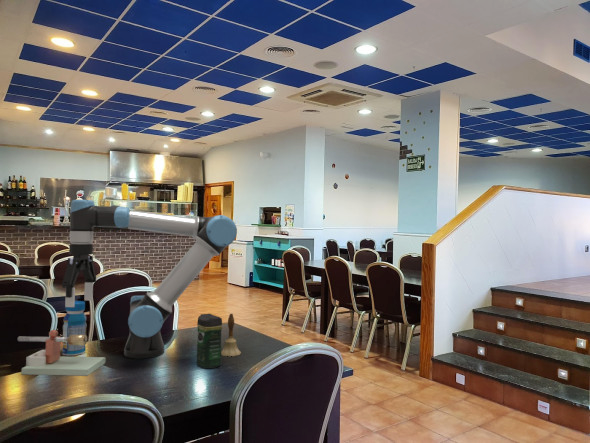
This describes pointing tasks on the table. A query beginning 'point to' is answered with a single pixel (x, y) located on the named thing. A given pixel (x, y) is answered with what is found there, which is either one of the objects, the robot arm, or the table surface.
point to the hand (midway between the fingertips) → (79, 303)
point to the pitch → (62, 365)
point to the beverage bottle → (74, 328)
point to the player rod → (55, 343)
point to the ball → (41, 354)
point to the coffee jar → (209, 341)
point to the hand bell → (230, 341)
